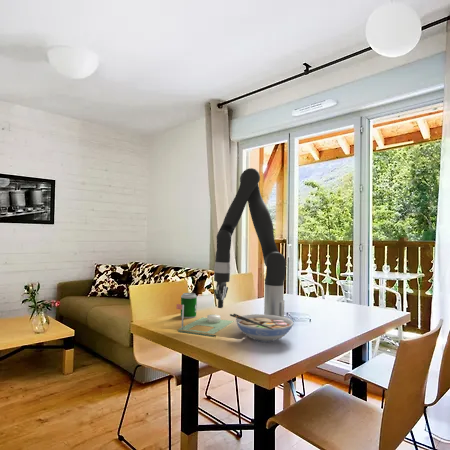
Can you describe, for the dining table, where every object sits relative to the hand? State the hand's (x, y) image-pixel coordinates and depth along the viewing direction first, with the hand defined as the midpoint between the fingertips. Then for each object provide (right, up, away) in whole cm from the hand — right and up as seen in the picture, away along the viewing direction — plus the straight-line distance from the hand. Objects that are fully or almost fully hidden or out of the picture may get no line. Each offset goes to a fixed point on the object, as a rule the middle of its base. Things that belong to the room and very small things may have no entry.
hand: (220, 307), depth 168 cm
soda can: (-15, -6, +1) cm, 17 cm away
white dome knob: (-3, -4, -8) cm, 10 cm away
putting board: (-5, -5, -15) cm, 17 cm away
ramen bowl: (+17, -6, -30) cm, 35 cm away
